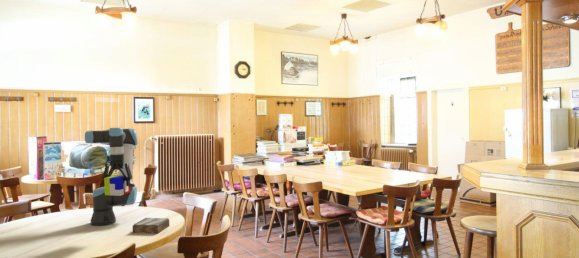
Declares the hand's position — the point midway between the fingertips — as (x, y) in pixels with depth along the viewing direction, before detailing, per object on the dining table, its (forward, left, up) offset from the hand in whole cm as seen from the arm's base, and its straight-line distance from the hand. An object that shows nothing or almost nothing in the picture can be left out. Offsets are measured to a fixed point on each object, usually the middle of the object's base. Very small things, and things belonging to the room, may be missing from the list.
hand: (117, 191), depth 237 cm
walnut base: (+15, +12, -26) cm, 32 cm away
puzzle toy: (0, 0, -2) cm, 2 cm away
